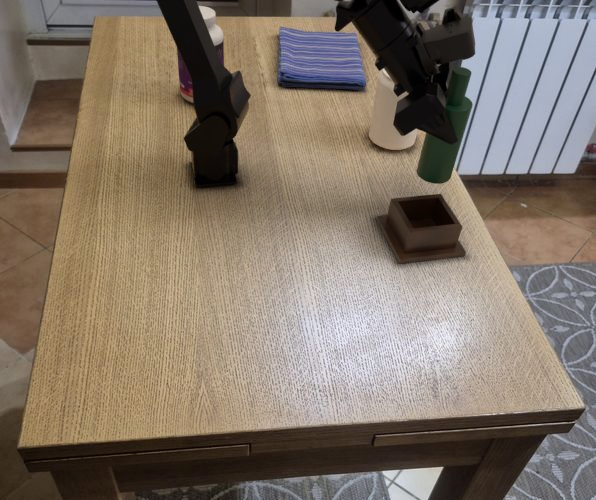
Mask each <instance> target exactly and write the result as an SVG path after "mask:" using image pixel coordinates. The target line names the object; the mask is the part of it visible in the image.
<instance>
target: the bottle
mask: <svg viewBox="0 0 596 500" xmlns="http://www.w3.org/2000/svg"><path fill="white" fill-rule="evenodd" d="M471 76H472V71H471V69H469V68H466V67H464V66H455V67H453V68H452V71H451V75H450V78H449V83H448V89H447V90H448V100H447V104H446V106H445V109H446V112H447V114H448V116H449V118H450V121H451V123H452V125H453V127H454V130H455V132H456V135H457V137H458V142H456V143H454V144H453V145H450V144H448V143H446V142H444V141H442V140H440V139H438V138H436V137H434V136H432V135H430V134H428V133H426V132H425V135H424V140H423V143H422V147H421V151H420V155H419V159H418V163H417V167H416V175H417V176H418V177H419V178H420V179H421V180H423V181H424V182H427V183H430V184H434V185H441V184H446V183H447V182H449V181H450V180H451V177H452V175H453V171H454V169H455V164H456V162H457V158H458V154H459V153H460V152H459V151H460V149H461V145H462V142H463V138H464V136H465V132H466V130H467V129H466V128H467V126H468V122H469V119H470V116H471V113H472V109H473V101H472V100H471V99H470V98H469V97H468V96H466V94H467V90H468V87H469V83H470V80H471Z"/></svg>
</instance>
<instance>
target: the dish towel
mask: <svg viewBox="0 0 596 500" xmlns="http://www.w3.org/2000/svg"><path fill="white" fill-rule="evenodd" d="M277 48H278V60H277V61H278V62H277V63H278V65H277V83H279V84H281V86H282V87H283V88H310V89H311V88H312V89H335V90H337V89H338V90H353V91H354V90H356V91H357V90H363V89H365V88H366V86H367V77H366V74H365V69H364V66H363V59H362V55H361V49H360V43H359V39H358V35H357V33H355V32H332V31H331V32H329V31H306V30H300V29H296V28H289V27H285V26H279V30H278V47H277Z"/></svg>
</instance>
